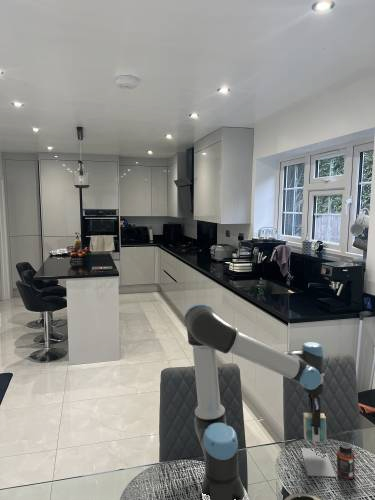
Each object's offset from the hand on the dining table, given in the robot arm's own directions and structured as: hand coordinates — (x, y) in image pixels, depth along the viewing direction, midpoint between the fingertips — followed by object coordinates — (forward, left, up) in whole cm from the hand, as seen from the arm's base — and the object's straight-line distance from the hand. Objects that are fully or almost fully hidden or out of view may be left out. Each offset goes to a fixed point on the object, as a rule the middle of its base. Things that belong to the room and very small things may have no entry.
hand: (314, 437), depth 146 cm
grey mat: (0, -5, -7) cm, 9 cm away
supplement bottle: (+9, -11, -7) cm, 16 cm away
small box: (0, 0, -1) cm, 1 cm away
